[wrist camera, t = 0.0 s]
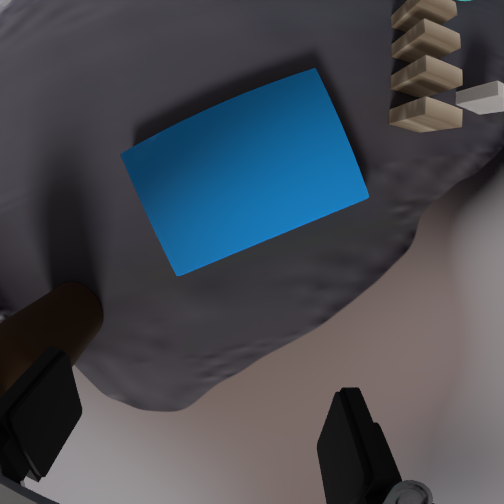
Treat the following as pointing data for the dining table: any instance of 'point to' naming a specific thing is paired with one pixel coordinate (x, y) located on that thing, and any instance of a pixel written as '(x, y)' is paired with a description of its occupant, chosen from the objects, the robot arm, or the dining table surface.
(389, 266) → the dining table surface
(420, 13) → the domino
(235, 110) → the book
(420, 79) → the domino
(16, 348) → the olive oil
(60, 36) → the dining table surface
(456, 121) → the domino
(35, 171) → the dining table surface
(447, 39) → the domino
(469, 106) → the end domino
